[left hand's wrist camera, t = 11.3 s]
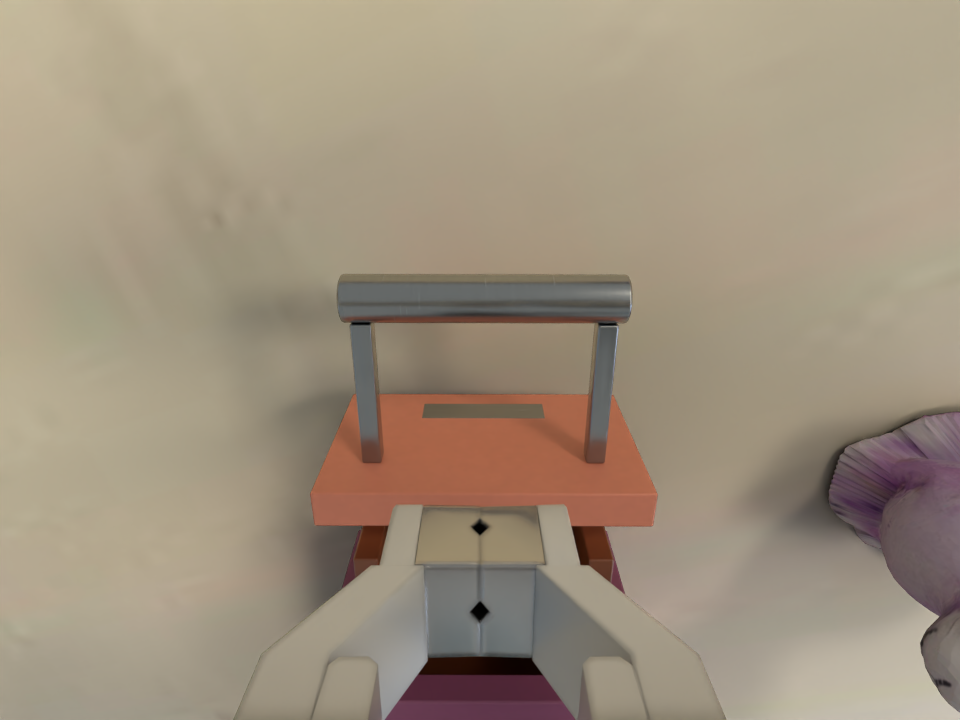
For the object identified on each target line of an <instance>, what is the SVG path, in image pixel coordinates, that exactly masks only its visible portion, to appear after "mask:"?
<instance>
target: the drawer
mask: <svg viewBox="0 0 960 720" xmlns="http://www.w3.org/2000/svg"><path fill="white" fill-rule="evenodd" d="M337 308H338V313H339V317H340V319H341V321H342V322H344V323H351V324H350V335H351V345H352V356H353V367H354V377H355V388H356V394H354V395H353V397H352V399H351V401H350V403H349V406H348V408H347V410H346V413H345V415H344V417H343V420H342V422H341V424H340V426H339V429H338V431H337V433H336V436H335V438H334V440H333V442H332V445H331V447H330V449H329V452H328V454H327V456H326V459H325V461H324V463H323V465H322V468H321V470H320V472H319V475H318V477H317V479H316V482H315V484H314V486H313V488H312V491H311V493H310V496H311V503H312V510H313V518H314V524H315V525H316V526H362V530H361V534H360V537H359V541H358V544H357V548H356V551H355V555H354V559H353V562H354V571H355V578H356V577H357V576H359V575H360V574H361V573H362V572H364V571H365V570H366V569H367V568H368V567H370V566H371V565H380V561H381V557H382V552H383V548H384V544H385V540H386V535H387V531H388V527H389V523H390V518H391V514H392V510H393V508H394V507H395V505H396V504H422V505H423V506H424V505H470V506H536V505H550V504H564V505H565V506H566V507H567V511H568V515H569V519H570V523H571V527H572V532H573V536H574V540H575V544H576V548H577V552H578V557H579V561H580V565H589V566H590V567H592V568H593V569H594V570H595V571H597V572H598V573H599V574H600V575H601V576H603V577H604V578H605V579H606V580H608V581H609V582H610V583H611V580H612V572H613V564H614V559H613V555H612V552H611V548H610V545H609V542H608V538H607V535H606V531H605V528H604V526H653V523H654V516H655V509H656V503H657V496H658V494H657V492H656V490H655V487H654V485H653V483H652V481H651V478H650V476H649V474H648V472H647V470H646V467H645V465H644V463H643V461H642V458H641V456H640V454H639V452H638V449H637V447H636V445H635V443H634V440H633V438H632V436H631V434H630V431H629V429H628V427H627V425H626V422H625V420H624V418H623V416H622V413H621V411H620V409H619V407H618V405H617V402H616V400H615V398H614V396H613V395H612V388H613V378H614V369H615V359H616V349H617V339H618V330H619V326H618V324H617V323H626V322H627V321H628V320H629V317H630V314H631V309H632V285H631V281H630V278H629V276H628V275H570V274H343V275H341V276H340V278H339V281H338V285H337ZM374 323H595V324H594V336H593V348H592V359H591V371H590V383H589V395H551V394H379V381H378V368H377V355H376V342H375V329H374ZM418 675H543V674H542V673H541V672H540V670H539V669H538V667H537V666H536V665H535V663H534V662H533V661H532V658H518V657H483V656H475V657H441V658H428V661H427V663H426V664H425V665H424V667H423V668H422V669H421V671H420V672H419V674H418Z"/></svg>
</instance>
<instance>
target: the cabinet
mask: <svg viewBox="0 0 960 720" xmlns="http://www.w3.org/2000/svg"><path fill="white" fill-rule="evenodd" d="M360 534H361V530H359V531H358V535H357V538H356V542H355V545H354V548H353V551H352V555H351V558H350V562H349V565H348V569H347V572H346V576H345V579H344V583H343V586H342V588H344V587H345V586H346V585H347V584H349V583H350V582H351V581H352V580H354V579H355V571H354V562H353V559H354V555H355V551H356V548H357V544H358V541H359V537H360ZM606 535H607V538H608V542H609V545H610V548H611V544H610V541H609V537H608V534H607V531H606ZM611 552H612V555H613V551H612V548H611ZM613 559H614V564H613V572H612V580H611V584H613V585H614V586H615V587H616V588H617V589H619V590H620V591H621V592H622V593H624V589H623V586H622V582H621V579H620V575H619V572H618V568H617V565H616V561H615V558H614V555H613ZM624 594H625V593H624ZM385 720H575V718H574V717H573V715H572V714H571V713H570V711H569V710H568V709H567V707H566V706H565V704H564V703H563V702H562V700H561V699H560V698H559V696H558V695H557V693H556V692H555V691H554V689H553V688H552V687H551V685H550V684H549V683H548V681H547V680H546V678H545V677H544V676H543V675H417V676H416V678H415V679H414V680H413V682H412V683H411V684H410V686H409V687H408V689H407V690H406V691H405V693H404V694H403V695H402V697H401V698H400V699H399V701H398V702H397V704H396V705H395V706H394V708H393V709H392V710H391V712H390V713H389V714H388V716H387V717H386V719H385Z"/></svg>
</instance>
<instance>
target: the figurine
mask: <svg viewBox="0 0 960 720" xmlns="http://www.w3.org/2000/svg"><path fill="white" fill-rule="evenodd" d="M836 467H837V469H836V470H835V471H834V472H835V474H834V475H833V478H834V479H833V480H832V481H831V482H832V484H831V485H830V489H829V498H828V499H829V501H830V504H829V505H830V507H831V508H832V510H833V511H834V513H835V514H836V515H837V516H838V517H839V518H841V519H842V520H843V521H845V522H847V523H849V524H851V525H853V526H855V528H854V529H855V531H856V533H857V536H858V537H859V538H860V539H861V540H862V541H863V542H864V543H865V544H868V545H871V546H873V547H877V548H880V549H882V551H883V554H884V556H885V559H886V563H887V566H888V568H889V570H890V572H891V574H892V575H893V577H894V579H895V580H896V581H897V582H898V583H899V585H900V586H901V587H902V588H903V589H904V590H905V591H906V592H907V593H908V594H909V595H910V596H912V597H913V598H914V599H915V600H916V601H918V602H919V603H920V604H922V605H923V606H925V607H926V608H927V609H929V610H930V611H932V612H933V613H935V614H937V615H938V616H940V617H939V618H938V619H937V620H936V621H935V622H934V623H933V624H932V625H931V626H930V627H929V628H928V629H927V630H926V632H925V634H924V636H923V638H922V640H921V642H920V645H921V654H922V656H923V658H924V663H925V667H926V669H927V671H928V673H929V675H930V677H931V679H932V681H933V683H934V684H935V686H936V687H937V688H938V690H939V692H940V694H941V695H942V696H943V698H944V699H945V700H946V701H947V702H948V703H949V704H950V705H951V706H952V707H953V708H955V709H956V710H957V711H958V712H960V412H950V413H943V414H938V415H931V416H927V415H924V416H923V417H921V418H920V419H918V420H915V421H913V422H911V423H908V424H906V425H904V426H902V427H900V428H898V429H896V430H894V431H893V432H892V433H886V434H884V435H882V436H878V437H872V438H870V439H864V440H861V441H859V442H857V443H854V444H852V445H849V446H848V447H846V448H845V451H844V453H842V454H841V455H840V459H839V460H838V464H837V465H836Z"/></svg>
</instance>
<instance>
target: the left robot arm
mask: <svg viewBox="0 0 960 720" xmlns="http://www.w3.org/2000/svg"><path fill="white" fill-rule="evenodd" d="M475 656H483V657H518V658H532V661H533V662H534V663H535V665H536V666H537V667H538V669H539V670H540V672H541V673H542V674H543V676H544V677H545V678H546V680H547V681H548V683H549V684H550V685H551V687H552V688H553V689H554V691H555V692H556V693H557V695H558V696H559V698H560V699H561V700H562V702H563V703H564V704H565V706H566V707H567V709H568V710H569V711H570V713H571V714H572V715H573V717H574V718H575V720H726V717H725V715H724V713H723V710H722V708H721V706H720V703H719V701H718V698H717V696H716V694H715V691H714V689H713V687H712V684H711V682H710V679H709V677H708V675H707V672H706V670H705V668H704V665H703V663H702V660H701V658H700V656H699V654H697V653H696V652H695V651H694V650H692V649H691V648H690V647H689V646H688V645H686V644H685V643H684V642H683V641H681V640H680V639H679V638H678V637H676V636H675V635H674V634H673V633H672V632H670V631H669V630H668V629H667V628H665V627H664V626H663V625H662V624H660V623H659V622H658V621H657V620H656V619H654V618H653V617H652V616H651V615H649V614H648V613H647V612H646V611H645V610H643V609H642V608H641V607H640V606H638V605H637V604H636V603H635V602H633V601H632V600H631V599H630V598H629V597H627V596H626V595H625V594H624V593H622V592H621V591H620V590H619V589H617V588H616V587H615V586H614V585H613V584H611V583H610V582H609V581H608V580H606V579H605V578H604V577H603V576H601V575H600V574H599V573H598V572H597V571H595V570H594V569H593V568H592V567H590V566H589V565H580V561H579V557H578V552H577V548H576V544H575V540H574V536H573V532H572V527H571V523H570V519H569V515H568V511H567V507H566V506H565V505H564V504H550V505H536V506H470V505H424V506H423V505H422V504H396V505H395V507H394V508H393V510H392V514H391V518H390V523H389V527H388V531H387V535H386V540H385V544H384V548H383V552H382V557H381V561H380V565H371V566H370V567H368V568H367V569H366V570H365V571H364V572H362V573H361V574H360V575H359V576H357V577H356V578H355V579H354V580H352V581H351V582H350V583H349V584H347V585H346V586H345V587H344V588H342V589H341V590H340V591H339V592H338V593H336V594H335V595H334V596H333V597H331V598H330V599H329V600H328V601H326V602H325V603H324V604H323V605H321V606H320V607H319V608H318V609H317V610H315V611H314V612H313V613H312V614H310V615H309V616H308V617H307V618H305V619H304V620H303V621H302V622H300V623H299V624H298V625H297V626H296V627H294V628H293V629H292V630H291V631H289V632H288V633H287V634H286V635H284V636H283V637H282V638H281V639H279V640H278V641H277V642H276V643H274V644H273V645H272V646H271V647H270V648H268V649H267V650H266V651H265V652H263V653H262V654H261V657H260V659H259V661H258V664H257V666H256V668H255V671H254V673H253V675H252V678H251V680H250V682H249V685H248V687H247V689H246V692H245V694H244V696H243V699H242V701H241V703H240V706H239V708H238V710H237V713H236V715H235V717H234V720H385V719H386V717H387V716H388V714H389V713H390V712H391V710H392V709H393V708H394V706H395V705H396V704H397V702H398V701H399V699H400V698H401V697H402V695H403V694H404V693H405V691H406V690H407V689H408V687H409V686H410V684H411V683H412V682H413V680H414V679H415V678H416V676H417V675H418V674H419V672H420V671H421V669H422V668H423V667H424V665H425V664H426V663H427V661H428V658H441V657H475Z"/></svg>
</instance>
